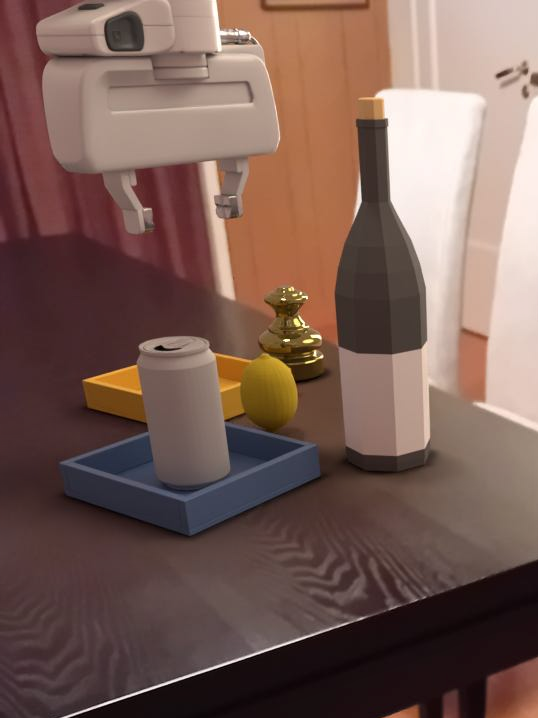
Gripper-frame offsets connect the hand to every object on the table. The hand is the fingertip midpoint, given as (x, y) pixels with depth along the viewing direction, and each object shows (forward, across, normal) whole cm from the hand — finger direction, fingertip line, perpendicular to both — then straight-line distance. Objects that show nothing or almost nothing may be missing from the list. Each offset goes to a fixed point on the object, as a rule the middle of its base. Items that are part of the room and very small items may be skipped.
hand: (187, 225), depth 82 cm
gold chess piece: (+21, -26, -16) cm, 38 cm away
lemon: (+21, -10, -3) cm, 24 cm away
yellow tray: (+21, -12, -18) cm, 30 cm away
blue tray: (+21, +4, +1) cm, 21 cm away
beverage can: (+21, +4, +1) cm, 21 cm away
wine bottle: (+21, -11, +11) cm, 26 cm away
